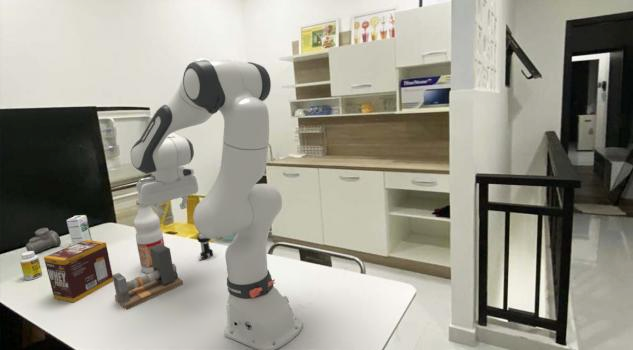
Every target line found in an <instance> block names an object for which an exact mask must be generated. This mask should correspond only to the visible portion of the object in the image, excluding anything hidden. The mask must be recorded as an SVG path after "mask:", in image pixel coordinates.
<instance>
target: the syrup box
mask: <svg viewBox="0 0 633 350" xmlns="http://www.w3.org/2000/svg"><path fill="white" fill-rule="evenodd" d="M66 224H67V225H66V226H67V229H68V233H69V236H70V239H71V240H70V241H71V244H72V245H75V244H77V243H80V242H82V241H84V240H91V241H93V238H92V234H91V231H90V226H89V222H88V217H87V215H86V214H80V215H74V216H73V217H70V218H68V219H66Z"/></svg>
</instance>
